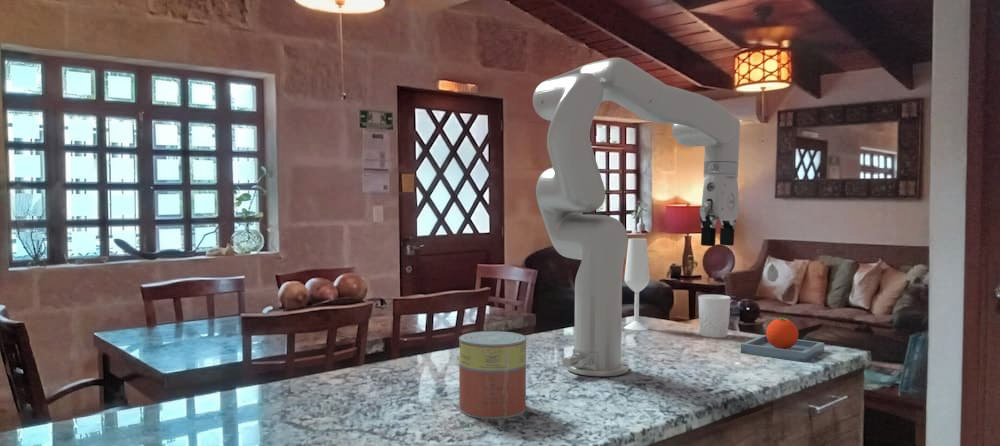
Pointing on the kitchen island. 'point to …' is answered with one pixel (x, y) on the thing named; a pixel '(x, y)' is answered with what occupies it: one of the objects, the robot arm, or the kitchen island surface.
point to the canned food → (492, 374)
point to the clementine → (782, 333)
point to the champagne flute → (637, 275)
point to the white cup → (714, 315)
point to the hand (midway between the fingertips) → (717, 245)
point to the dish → (796, 353)
